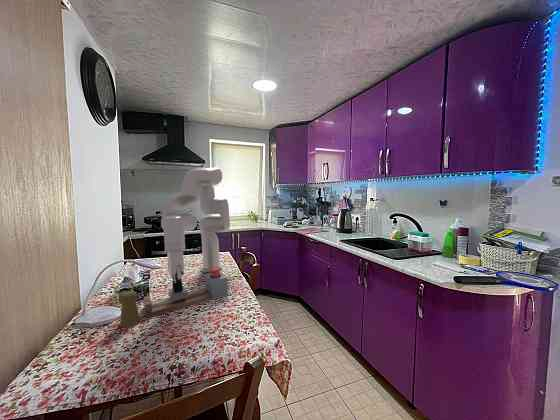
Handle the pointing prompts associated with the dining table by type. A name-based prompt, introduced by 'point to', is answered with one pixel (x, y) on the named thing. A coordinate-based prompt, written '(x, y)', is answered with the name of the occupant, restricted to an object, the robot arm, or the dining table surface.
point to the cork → (129, 309)
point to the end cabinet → (216, 285)
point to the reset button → (215, 272)
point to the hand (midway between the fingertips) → (177, 289)
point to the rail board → (168, 305)
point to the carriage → (177, 294)
